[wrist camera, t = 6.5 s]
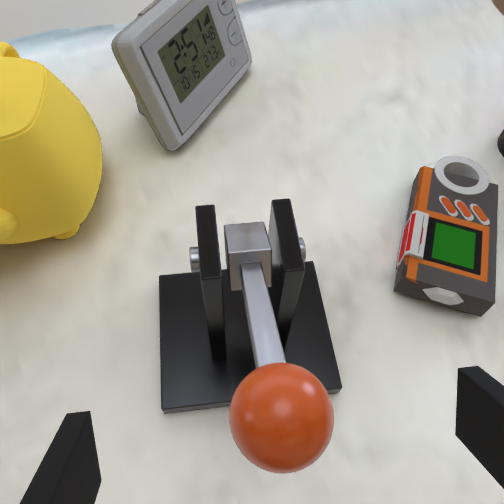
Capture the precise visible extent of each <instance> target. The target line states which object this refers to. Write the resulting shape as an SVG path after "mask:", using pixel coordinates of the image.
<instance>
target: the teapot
mask: <svg viewBox="0 0 504 504" xmlns="http://www.w3.org/2000/svg"><path fill="white" fill-rule="evenodd" d="M101 174H102V145H101V139H100V136H99V133H98V130H97V128H96V126H95V124H94V122H93V120H92V119H91V117H90V115H89V113H88V112H87V110H86V109H85V107H84V106H83V105H82V103H81V102H80V101H79V99H78V98H77V97H76V96H75V95H74V94H73V93H72V92H71V91H70V90H69V89H68V88H67V87H66V86H65V85H64V84H63V83H62V82H61V81H60V80H59V79H58V78H57V77H56V76H55V75H54V74H53V73H52V72H50V71H49V70H48V69H47V68H45V67H44V66H43V65H41V64H40V63H38V62H35V61H31V60H28V59H23V58H20V57H19V54H18V53H17V51H16V50H15V48H14V47H13V46H11V45H10V44H8V43H5V42H0V244H17V243H25V242H31V241H36V240H40V239H45V238H49V237H54V238H56V239H67V238H70V237H72V236H73V235H75V234H76V233H77V232H78V230H79V228H80V224H81V223H82V222H83V221H84V220H85V219H86V217H87V216H88V214H89V213H90V211H91V209H92V207H93V204H94V201H95V199H96V196H97V193H98V189H99V185H100V181H101Z"/></svg>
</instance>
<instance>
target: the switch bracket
mask: <svg viewBox="0 0 504 504" xmlns="http://www.w3.org/2000/svg"><path fill="white" fill-rule="evenodd" d="M195 209H196V223H197V237H198V247H190V249H189V251H190V264H191V272H192V273H182V274H171V275H160V276H159V302H160V359H161V409H162V411H163V413H164V414H167V413H175V412H183V411H191V410H200V409H208V408H216V407H224V406H230V405H231V401H232V397H233V395H234V393H235V391H236V389H237V387H238V385H239V384H240V383H241V381H242V380H243V379H244V378H245V377H246V376H247V375H248V374H249V373H251V372H252V371H253V370H255V369H256V367H255V361H254V355H253V349H252V343H251V338H250V332H249V326H248V320H247V315H246V309H245V303H244V297H243V291H242V290H234V291H231V290H230V285H229V278H228V271H227V269H224V270H221V263H220V253H219V244H218V234H217V224H216V214H215V206H214V205H203V206H196V207H195ZM268 238H269V241H270V244H271V248H272V286H271V287H267V288H268V292H269V296H270V300H271V304H272V308H273V312H274V316H275V320H276V324H277V328H278V332H279V336H280V340H281V344H282V348H283V352H284V356H285V360H286V363H291V364H295V365H298V366H300V367H302V368H305V369H306V370H308V371H309V372H311V373H312V374H313V375H314V376H316V377H317V378H318V379H319V381H320V382H321V383H322V384H323V386H324V387H325V389H326V391H327V392H328V394H332V393H339V392H340V390H341V389H342V384H341V380H340V376H339V371H338V367H337V363H336V358H335V354H334V350H333V345H332V341H331V337H330V332H329V328H328V324H327V319H326V315H325V310H324V306H323V302H322V297H321V293H320V289H319V284H318V280H317V276H316V271H315V267H314V263H313V261H310V262H305V259H306V250H305V244H304V240H303V238H301V237H300V238H299V237H298V233H297V228H296V224H295V219H294V214H293V210H292V205H291V201H290V199H278V200H272V203H271V213H270V222H269V232H268Z"/></svg>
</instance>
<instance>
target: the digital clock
mask: <svg viewBox="0 0 504 504" xmlns="http://www.w3.org/2000/svg"><path fill="white" fill-rule="evenodd" d="M111 45H112V51H113V53H114V56H115V58H116V60H117V62H118V64H119V66H120V68H121V70H122V72H123V74H124V76H125V78H126V79H127V81H128V83H129V85H130V87H131V89H132V91H133V93H134V95H135V98H136V102H137V106H138V110H139V112H140V113H141V114H143V115H145V116H146V118H147V120H148V121H149V123H150V125H151V127H152V129H153V131H154V133H155V135H156V137H157V138H158V140H159V142H160V143H161V145H162V146H163V147H164V148H165V149H167V150H169V151H175V150H176V149H178V148H179V147H180V146H181V145H183V144H184V143H185V142H186V141H187V140H188V139H189V138H190V137H191V135H192V134H193V133H194V132H195V131H196V130H197V129H198V127H199V126H200V125H201V124H202V123H203V122H204V120H205V119H206V118H207V117H208V116H209V115H210V113H211V112H212V111H213V110H214V109H215V108H216V106H217V105H218V104H219V103H220V102H221V101H222V99H223V98H224V97H225V96H226V95H227V94H228V92H229V91H230V90H231V89H232V88H233V87H234V85H235V84H236V83H237V82H238V81H239V80H240V78H241V77H242V76H243V75H244V74H245V72H246V71H247V70H248V69H249V67H250V66H251V63H252V58H251V53H250V49H249V46H248V42H247V39H246V36H245V32H244V29H243V25H242V22H241V19H240V15H239V12H238V9H237V5H236V2H235V0H155V1H153V3H151V4H150V5H149V6H148V7H146V8H145V9H144V10H143V11H141V12H140V13H139V14H138V17H137V18H136V19H135V20H134V21H133V22H131V23H130V24H129V25H128V26H127V27H125V28H124V29H123V30H122V31H121V32H120V33H118V34H117V35H116V36H115V38H114V39H113V41H112V44H111Z"/></svg>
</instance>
